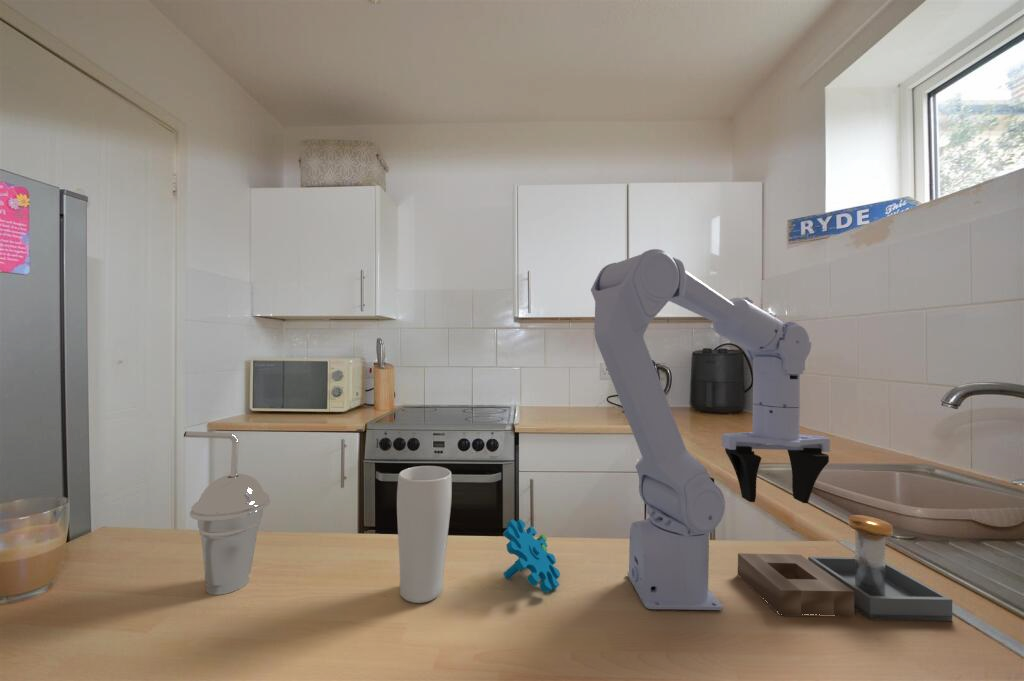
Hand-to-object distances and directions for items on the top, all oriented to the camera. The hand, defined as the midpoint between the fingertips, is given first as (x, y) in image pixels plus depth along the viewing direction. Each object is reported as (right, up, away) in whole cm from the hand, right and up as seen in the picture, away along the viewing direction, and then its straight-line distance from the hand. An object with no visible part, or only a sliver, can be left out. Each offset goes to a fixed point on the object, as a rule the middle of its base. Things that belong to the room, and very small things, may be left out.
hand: (774, 500), depth 59 cm
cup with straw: (-74, -8, -7) cm, 75 cm away
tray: (+10, -11, -5) cm, 15 cm away
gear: (-35, -10, -4) cm, 37 cm away
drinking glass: (-49, -9, -7) cm, 50 cm away
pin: (+9, -10, -5) cm, 15 cm away
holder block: (-1, -10, -5) cm, 12 cm away
